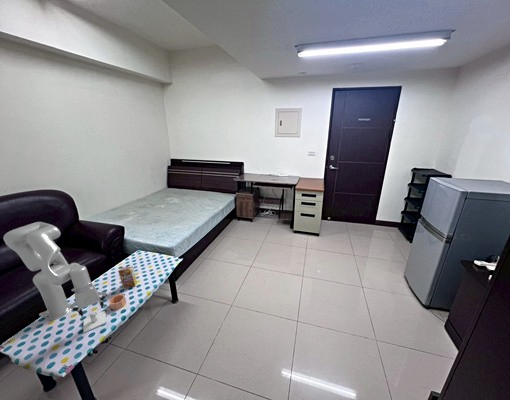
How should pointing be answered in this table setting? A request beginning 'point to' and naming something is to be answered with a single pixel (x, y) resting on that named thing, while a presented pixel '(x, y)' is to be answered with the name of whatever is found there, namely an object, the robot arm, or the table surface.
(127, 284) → the candy box
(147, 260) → the table surface
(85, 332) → the mat
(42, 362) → the table surface
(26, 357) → the table surface
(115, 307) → the bowl
